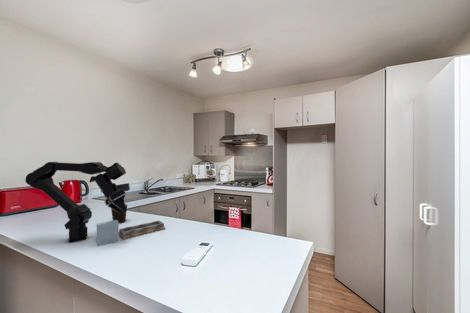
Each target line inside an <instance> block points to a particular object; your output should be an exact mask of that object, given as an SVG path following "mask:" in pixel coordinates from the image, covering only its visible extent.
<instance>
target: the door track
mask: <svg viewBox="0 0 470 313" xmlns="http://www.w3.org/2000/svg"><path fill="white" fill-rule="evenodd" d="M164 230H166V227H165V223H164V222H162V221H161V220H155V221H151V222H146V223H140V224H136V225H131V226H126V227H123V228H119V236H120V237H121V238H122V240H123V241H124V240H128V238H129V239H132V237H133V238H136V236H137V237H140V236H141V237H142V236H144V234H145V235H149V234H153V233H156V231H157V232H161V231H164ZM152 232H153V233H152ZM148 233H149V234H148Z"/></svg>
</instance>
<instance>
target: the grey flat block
mask: <svg viewBox="0 0 470 313" xmlns="http://www.w3.org/2000/svg"><path fill="white" fill-rule="evenodd" d="M119 224H120V223H119V221H118V220H113V219H112V220H109V221H103V222H99V223H96V244H97V246H98V247H99V246H104V245H107V243H108V244H111V242H112V243H115V241H116V242H119V241H120V240H119V238H120V237H119V236H120V235H119V229H120V228H119ZM103 244H104V245H103Z"/></svg>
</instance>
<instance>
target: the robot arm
mask: <svg viewBox="0 0 470 313" xmlns="http://www.w3.org/2000/svg"><path fill="white" fill-rule="evenodd" d="M57 171H61V172H62V171H63V172H78V173H82V174H87V175H93V176H90V179H89V183H93V182H94V183H96V185H97V187H98V188H99V189H100V193H102V194H103V196H104V197H105V198H104V199H105V200H104V205H105V206H106V207H108V208H110V209H111V208H112V209H113V210H115V211H117V212H118V213H120V214H122V213H123V211H124V212H126V211H127V212H128V210H127V209H128V208H127V209H126V206H125V204H126V203H125V197H126V192H129V191H130V189H131V188H130V184H129V182H128V183H121V184H116V183H115V182H113V181H116V180H118V179H119V178H121V177H122V176H124V175H125V174H127V171H126V169H125V167H123V166H122V165H121V164H120V163H119V162H114V163H113V164H112V165H110V166H106V165H104V164H103V162H101V161H93V162H92V161H90V162H83V163H77V162H60V161H48V162H46V163H45V164H43V165H41V167H38V168H36V169H35V170H33V171H32V172H29V173H28V174H27V175H26V176H25V180H24V182H25V183H26V184H27V185H29V186H30V187H32V188H33V189H36V190H40V191H41V192H43V193H44V194H46V196H48V197H49V198H50V199H51V200H52V201H53V202H55V203H56V204H57V205H58V206H59V207H60V208H62V209H63V211H65V212H66V215H67V218H68V221H66V223H64V227H65V230H68V238H67V240H68V243H73V242H79V241H84V240H86V239H87V237H88V227H87V225H86V224H88V223H89V220H91V219H92V216H93V214H92V213H93V212H92V211H91V208H90V207H88V206H87V205H86V204H85V203H83V204H78V203H77V202H75V201H74V200H73V199H72V198H71V197H69V196H68V195H67V194H66V193H65V192H64V191H63V190H61V189H60V188H59V186H57V185H56V184H55V183H54V179H53V177H54V176H55V174H56V172H57ZM112 180H113V181H112ZM122 210H123V211H122ZM127 212H126V213H127Z"/></svg>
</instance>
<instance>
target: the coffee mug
mask: <svg viewBox="0 0 470 313" xmlns="http://www.w3.org/2000/svg"><path fill="white" fill-rule="evenodd" d="M125 206H126V209H128V204H127V203H125ZM110 210H111V211H110V212H111V217H112V221H113V220H118V221H119V224H123V223H125V222H126V218H127V212H128V210H127V211H126V212H124V211H123V210H122V211H123V213H122V214H120V213H118V212H117V211H115V210H113V209H112V208H110Z"/></svg>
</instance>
